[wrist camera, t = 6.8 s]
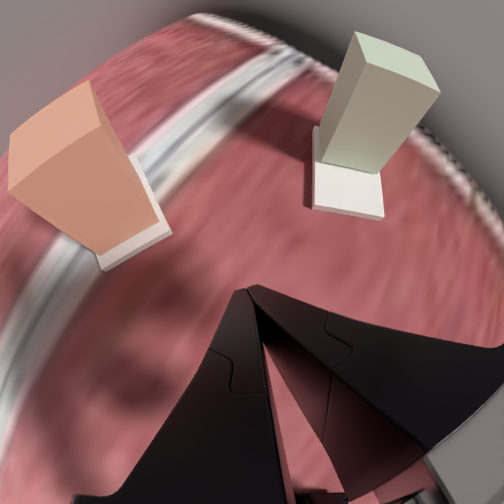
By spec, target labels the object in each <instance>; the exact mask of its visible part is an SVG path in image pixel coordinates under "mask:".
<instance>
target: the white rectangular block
mask: <svg viewBox="0 0 504 504" xmlns="http://www.w3.org/2000/svg"><path fill="white" fill-rule="evenodd" d="M128 158H129V160H130V161H131V163H132V165H133V167H134V168H135V170H136V172H137V174H138V176H139V177H140V179H141V182H142V184H143V186H144V189H145V191H146V193H147V195H148V198H149V200H150V202H151V204H152V206H153V209H154V211H155V213H156V215H157V217H158V219H159V221H160V222H158V223H156V224H154V225H152V226H151V227H149V228H147V229H145V230H143V231H142V232H140V233H138V234H136V235H135V236H133V237H131V238H130V239H128V240H126V241H124V242H123V243H121V244H119V245H118V246H116V247H114V248H113V249H111V250H109V251H108V252H106V253H104V254H103V255H101V256H100V255H98V254H96V253H95V254H96V257H97V260H98V262H99V265H100V268H101V270H103V271H105V272H107V271H109V270H110V269H112V268H114V267H116V266H117V265H119V264H121V263H122V262H124V261H126V260H127V259H129V258H131V257H133V256H134V255H136V254H138V253H139V252H141V251H143V250H145V249H146V248H148V247H150V246H152V245H154V244H155V243H157V242H159V241H161V240H163V239H164V238H166V237H168V236H170V235H172V234H173V233H172V231H171V229H170V227H169V225H168V223H167V221H166V219H165V217H164V215H163V212H162V210H161V208H160V206H159V204H158V202H157V200H156V198H155V196H154V193H153V191H152V189H151V187H150V185H149V183H148V180H147V178H146V176H145V174H144V171H143V169H142V167H141V165H140V162H139V160H138V158H137V156H136V154H135V153H133V154H131V155H129V156H128Z"/></svg>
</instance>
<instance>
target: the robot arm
mask: <svg viewBox="0 0 504 504" xmlns="http://www.w3.org/2000/svg"><path fill="white" fill-rule="evenodd" d="M263 344H264V346H265V348H266V350H267V352H268V353H269V355H270V357H271V359H272V360H273V362H274V364H275V366H276V367H277V369H278V371H279V373H280V374H281V376H282V378H283V380H284V381H285V383H286V385H287V387H288V388H289V390H290V392H291V393H292V395H293V397H294V399H295V400H296V402H297V404H298V405H299V407H300V409H301V410H302V412H303V414H304V416H305V417H306V419H307V421H308V422H309V424H310V425H311V427H312V429H313V430H314V432H315V434H316V435H317V437H318V439H319V440H320V442H321V443H322V445H323V447H324V448H325V450H326V452H327V454H328V456H329V458H330V460H331V462H332V464H333V466H334V469H335V471H336V473H337V475H338V478H339V480H340V482H341V484H342V487H343V489H344V491H345V493H346V494H335V493H334V494H296V493H294V492H293V488H292V483H291V479H290V474H289V470H288V465H287V460H286V455H285V450H284V445H283V441H282V436H281V431H280V426H279V421H278V416H277V411H276V406H275V401H274V396H273V391H272V386H271V381H270V376H269V371H268V366H267V361H266V355H265V350H264V346H263ZM372 491H374V493H375V495H376V497H377V499H378V501H379V503H380V504H504V343H503V344H502V345H501V346H498V347H495V348H484V347H479V346H473V345H468V344H462V343H457V342H452V341H447V340H442V339H437V338H432V337H427V336H422V335H418V334H413V333H409V332H404V331H400V330H395V329H391V328H386V327H382V326H378V325H374V324H370V323H366V322H362V321H358V320H355V319H351V318H348V317H345V316H342V315H339V314H336V313H334V312H331V311H330V312H329V311H327V310H324V309H322V308H319V307H316V306H313V305H311V304H308V303H305V302H303V301H300V300H297V299H295V298H292V297H289V296H287V295H284V294H282V293H279V292H276V291H274V290H271V289H269V288H266V287H263V286H261V285H258V284H257V285H253V286H250V287H247V289H245V288H243V289H239V290H235V291H234V292H233V294H232V297H231V299H230V301H229V303H228V306H227V308H226V310H225V312H224V315H223V317H222V319H221V321H220V324H219V326H218V328H217V330H216V332H215V335H214V337H213V339H212V341H211V344H210V346H209V348H208V350H207V352H206V354H205V356H204V358H203V360H202V362H201V364H200V366H199V368H198V370H197V372H196V374H195V375H194V377H193V379H192V380H191V382H190V384H189V385H188V387H187V388H186V390H185V392H184V393H183V395H182V396H181V398H180V399H179V401H178V402H177V404H176V405H175V407H174V408H173V410H172V412H171V413H170V415H169V416H168V418H167V419H166V421H165V422H164V424H163V425H162V427H161V428H160V430H159V431H158V433H157V434H156V436H155V437H154V439H153V440H152V442H151V443H150V445H149V446H148V448H147V449H146V451H145V452H144V454H143V455H142V457H141V458H140V460H139V461H138V463H137V464H136V466H135V467H134V469H133V470H132V472H131V473H130V475H129V476H128V477H127V479H126V480H125V482H124V483H123V485H122V486H121V487H120V488H119V490H118V491H116V492H115V493H113V494H112V495H109V496H102V497H99V496H91V495H83V494H76V495H73V496H72V499H71V503H70V504H348V502H349V501H353V500H355V499H357V498H359V497H361V496H363V495H365V494H368V493H370V492H372ZM345 497H346V498H345ZM344 498H345V499H344Z"/></svg>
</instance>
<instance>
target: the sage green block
mask: <svg viewBox="0 0 504 504" xmlns="http://www.w3.org/2000/svg"><path fill="white" fill-rule="evenodd" d="M440 93H441V92H440V90H439V88H438V86H437V84H436V82H435V81H434V79H433V77H432V75H431V73H430V72H429V70H428V68H427V66H426V65H425V63H424V61H423V60H422V58H421V57H420V56H418V55H416V54H413V53H411V52H409V51H407V50H404V49H402V48H400V47H397V46H395V45H392V44H390V43H387V42H385V41H382V40H379V39H376V38H374V37H371V36H368V35H365V34H362V33H359V32H354V34H353V37H352V40H351V43H350V45H349V48H348V51H347V53H346V56H345V59H344V62H343V64H342V67H341V70H340V72H339V75H338V78H337V80H336V83H335V86H334V88H333V91H332V94H331V96H330V99H329V101H328V104H327V107H326V109H325V112H324V115H323V117H322V120H321V122H320V148H321V162H325V163H330V164H335V165H339V166H344V167H349V168H353V169H358V170H362V171H366V172H370V173H374V174H378V173H379V171H380V170H381V169H382V168H383V167H384V165H385V164H386V163H387V162H388V160H389V159H390V158H391V157H392V156H393V154H394V153H395V152H396V151H397V149H398V148H399V147H400V146H401V144H402V143H403V142H404V140H405V139H406V138H407V137H408V135H409V134H410V133H411V132H412V130H413V129H414V128H415V126H416V125H417V124H418V123H419V121H420V120H421V119H422V117H423V116H424V114H425V113H426V112H427V111H428V109H429V108H430V107H431V105H432V104H433V103H434V101H435V100H436V99H437V97H438V96H439V94H440Z"/></svg>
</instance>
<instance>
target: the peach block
mask: <svg viewBox="0 0 504 504" xmlns="http://www.w3.org/2000/svg"><path fill="white" fill-rule="evenodd" d="M8 192H9V193H10V194H11V195H12V196H14V197H15V198H16V199H18V200H19V201H20V202H22V203H23V204H24V205H26V206H27V207H28V208H30V209H31V210H32V211H34V212H35V213H37V214H38V215H39V216H41V217H42V218H44V219H45V220H46V221H48V222H49V223H51V224H52V225H54V226H55V227H56V228H58V229H59V230H61V231H62V232H64V233H65V234H67V235H68V236H70V237H71V238H73V239H74V240H76V241H78V242H79V243H81V244H82V245H84V246H85V247H87V248H88V249H90V250H92V251H93V252H95V253H96V254H98V255H100V256H101V255H103V254H104V253H106V252H108V251H109V250H111V249H113V248H114V247H116V246H118V245H119V244H121V243H123V242H124V241H126V240H128V239H130V238H131V237H133V236H135V235H136V234H138V233H140V232H142V231H143V230H145V229H147V228H149V227H151V226H152V225H154V224H156V223H158V222H160V221H159V219H158V217H157V215H156V213H155V211H154V209H153V206H152V204H151V202H150V200H149V198H148V195H147V193H146V191H145V189H144V186H143V184H142V182H141V179H140V177H139V176H138V174H137V172H136V170H135V168H134V167H133V165H132V163H131V161H130V160H129V158H128V156H127V154H126V152H125V150H124V149H123V147H122V145H121V143H120V141H119V139H118V137H117V136H116V134H115V132H114V130H113V128H112V126H111V124H110V122H109V120H108V118H107V116H106V114H105V112H104V110H103V108H102V106H101V104H100V102H99V100H98V98H97V96H96V94H95V92H94V90H93V88H92V86H91V84H90V82H89V80H88V81H86V82H84V83H82V84H81V85H79V86H77V87H75V88H74V89H72V90H70V91H69V92H67V93H66V94H64V95H63V96H61V97H59V98H58V99H56V100H55V101H53V102H52V103H51V104H49V105H48V106H46V107H45V108H43V109H42V110H41V111H39V112H38V113H37V114H35V115H34V116H32V117H31V118H30V119H28V120H27V121H26V122H25V123H23V124H22V125H21V126H20V127H18V128H17V129H16V130H15V131H14V132H12V133H11V135H10V145H9V161H8Z"/></svg>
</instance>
